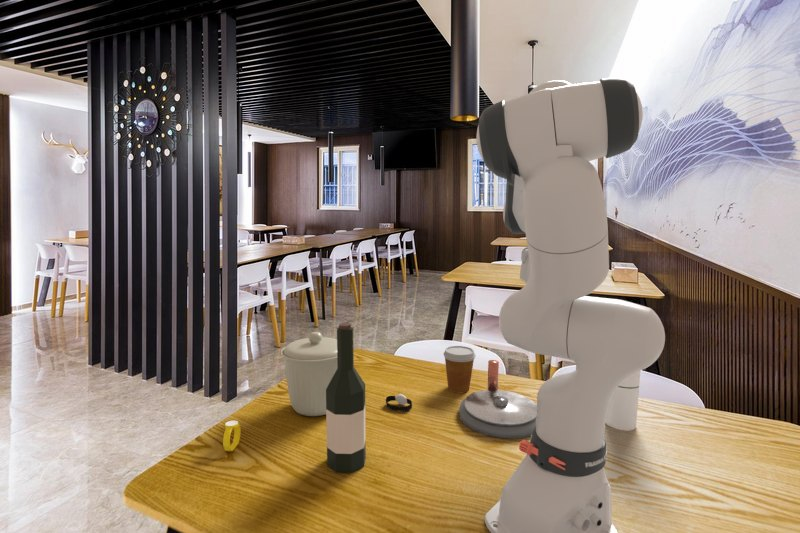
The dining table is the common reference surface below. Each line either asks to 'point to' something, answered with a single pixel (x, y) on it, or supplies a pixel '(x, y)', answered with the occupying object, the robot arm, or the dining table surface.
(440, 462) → the dining table surface
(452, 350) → the disposable coffee cup
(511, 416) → the handwheel
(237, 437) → the watch
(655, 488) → the dining table surface
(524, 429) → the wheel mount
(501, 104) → the robot arm
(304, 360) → the canister
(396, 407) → the watch
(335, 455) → the wine bottle
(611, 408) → the cylindrical container
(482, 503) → the dining table surface
